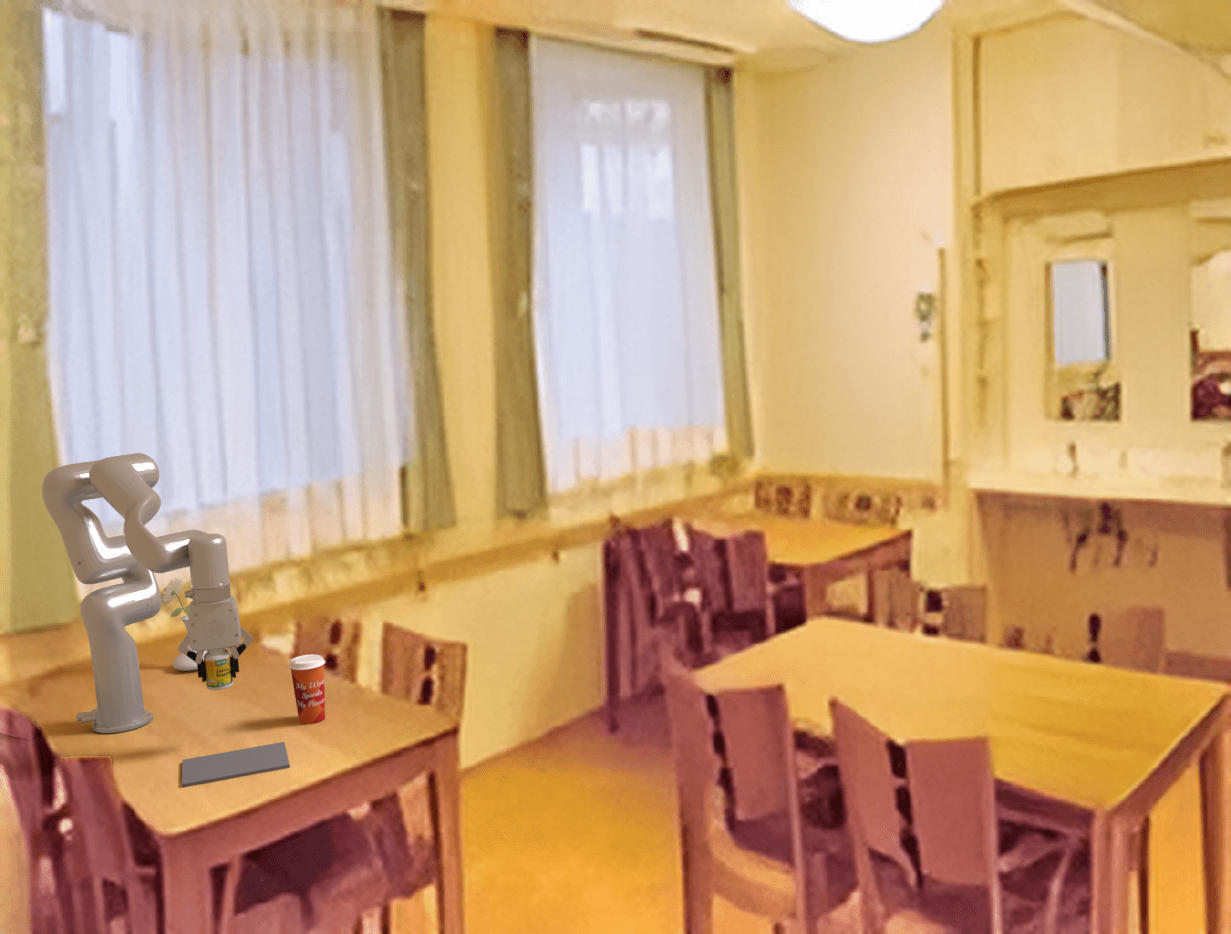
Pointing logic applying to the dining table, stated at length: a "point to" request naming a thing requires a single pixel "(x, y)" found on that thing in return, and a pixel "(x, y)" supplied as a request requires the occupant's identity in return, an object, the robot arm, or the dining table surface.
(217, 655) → the supplement bottle
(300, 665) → the paper cup
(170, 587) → the flower in vase
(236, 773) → the charcoal mat
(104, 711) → the robot arm
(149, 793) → the dining table surface
